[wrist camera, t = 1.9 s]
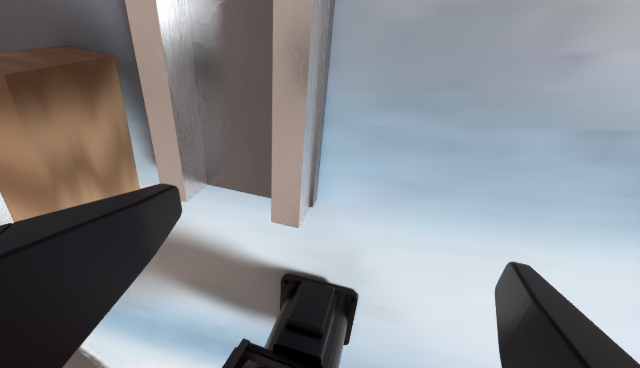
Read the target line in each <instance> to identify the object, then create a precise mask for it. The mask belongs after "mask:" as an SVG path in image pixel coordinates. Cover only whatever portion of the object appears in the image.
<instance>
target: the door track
mask: <svg viewBox="0 0 640 368" xmlns="http://www.w3.org/2000/svg"><path fill="white" fill-rule="evenodd" d="M125 4H126V9H127V15H128V20H129V25H130V30H131V35H132V40H133V46H134V51H135V56H136V61H137V66H138V71H139V77H140V82H141V87H142V92H143V97H144V102H145V108H146V113H147V118H148V123H149V128H150V133H151V139H152V144H153V149H154V154H155V159H156V164H157V170H158V175H159V180H160V184H162V183H166V184H170V185H175V186H176V187H177V188H178V189H179V193H180V199H181V201H184V202H187V201H188V200H189V199H191V198H192V197H193V196H194V195H195V194H196V193H198V192H199V191H200V190H201V189H202V188H203V187H205V186H206V185H207V184H208V185H213V186H217V187H222V188H226V189H231V190H236V191H240V192H245V193H249V194H254V195H258V196H263V197H268V198H271V222H274V223H279V224H283V225H287V226H292V227H296V228H299V226H300V224H301V222H302V221H303V219H304V217H305V215H306V213H307V211H308V209H309V207H313V206H314V204H315V202H316V199H317V188H318V177H319V167H320V156H321V145H322V134H323V123H324V113H325V102H326V91H327V80H328V69H329V59H330V48H331V37H332V26H333V15H334V5H335V0H125Z"/></svg>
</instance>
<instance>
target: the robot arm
mask: <svg viewBox="0 0 640 368" xmlns="http://www.w3.org/2000/svg"><path fill="white" fill-rule="evenodd" d="M181 213H182V206H181V199H180V193H179V189H178V188H177V187H176V186H175V185H170V184H166V183H162V184H158V185H154V186H150V187H146V188H142V189H139V190H135V191H131V192H127V193H123V194H120V195H116V196H112V197H108V198H104V199H100V200H97V201H93V202H89V203H85V204H81V205H78V206H74V207H70V208H66V209H62V210H58V211H55V212H51V213H47V214H43V215H39V216H36V217H32V218H28V219H24V220H20V221H17V222H14V223H13V224H12V223H9V224H5V225H1V226H0V368H62V367H63V366H64V365H65V364H66V362H67V361H68V360H69V359H70V358H71V356H72V355H73V354H74V353H75V352H76V350H77V349H78V348H79V347H80V346H81V344H82V343H83V342H84V341H85V340H86V338H87V337H88V336H89V335H90V334H91V332H92V331H93V330H94V329H95V327H96V326H97V325H98V324H99V323H100V321H101V320H102V319H103V318H104V317H105V315H106V314H107V313H108V312H109V311H110V309H111V308H112V307H113V306H114V304H115V303H116V302H117V301H118V300H119V298H120V297H121V296H122V295H123V294H124V292H125V291H126V290H127V289H128V288H129V286H130V285H131V284H132V283H133V282H134V280H135V279H136V278H137V277H138V275H139V274H140V273H141V272H142V271H143V269H144V268H145V267H146V266H147V265H148V263H149V262H150V261H151V259H152V258H153V257H154V255H155V254H156V253H157V251H158V250H159V248H160V247H161V245H162V244H163V242H164V241H165V239H166V238H167V236H168V235H169V233H170V232H171V230H172V229H173V227H174V226H175V224H176V223H177V221H178V220H179V218H180V216H181ZM352 297H353V298H352ZM357 301H358V294H357V293H356V292H354V291H351V290H347V289H343V288H339V287H335V286H331V285H328V284H324V283H320V282H316V281H312V280H309V279H305V278H301V277H297V276H293V275H289V274H284V275H283V277H282V279H281V297H280V313H279V315H278V318H277V320H276V322H275V324H274V327H273V329H272V331H271V333H270V336H269V338H268V340H267V342H266V345H265V347H261V346H258V345H256V344H253V343H250V341H249V340H246V339H244V338H243V340H242V341H241V343H240V344H239V346H238V347H235V349H234V350H233V351H232V353H231V355H230V356H229V358H228V359H227V361H226V363H225V364H224V366H223V367H222V368H338V367H339V363H340V358H341V353H342V349H343V345H347V344H348V343H349V340H350V335H351V330H352V325H353V320H354V316H355V311H356V306H357ZM495 304H496V317H497V330H498V343H499V353H500V359H501V365H502V368H640V364H639V363H637V362H636V361H635V360H634V359H633V358H632V357H631V356H630V355H628V354H627V353H626V352H625V351H624V350H623V349H622V348H621V347H620V346H618V345H617V344H616V343H615V342H614V341H613V340H612V339H611V338H610V337H608V336H607V335H606V334H605V333H604V332H603V331H602V330H601V329H599V328H598V327H597V326H596V325H595V324H594V323H593V322H592V321H591V320H589V319H588V318H587V317H586V316H585V315H584V314H583V313H582V312H581V311H579V310H578V309H577V308H576V307H575V306H574V305H573V304H572V303H570V302H569V301H568V300H567V299H566V298H565V297H564V296H563V295H562V294H560V293H559V292H558V291H557V290H556V289H555V288H554V287H553V286H552V285H550V284H549V283H548V282H547V281H546V280H545V279H544V278H543V277H541V276H540V275H539V274H538V273H537V272H536V271H535V270H534V269H533V268H531V267H530V266H529V265H526V264H521V263H517V262H509V263H508V264H507V265H506V267H505V269H504V271H503V273H502V275H501V277H500V279H499V281H498V283H497V285H496V288H495Z"/></svg>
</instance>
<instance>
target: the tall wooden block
mask: <svg viewBox="0 0 640 368" xmlns="http://www.w3.org/2000/svg"><path fill="white" fill-rule="evenodd" d="M139 189H140V187H139V181H138V176H137V171H136V165H135V160H134V155H133V149H132V144H131V139H130V133H129V128H128V123H127V118H126V112H125V107H124V102H123V96H122V91H121V86H120V80H119V75H118V70H117V64H116V59H115V56H114V55H109V54H104V53H99V52H94V51H89V50H84V49H79V48H74V47H69V46H58V47H49V48H40V49H32V50H23V51H14V52H6V53H0V192H1V195H2V197H3V199H4V201H5V203H6V206H7V208H8V210H9V212H10V214H11V217H12V219H13V221H14V222H17V221H20V220H24V219H28V218H32V217H36V216H39V215H43V214H47V213H51V212H55V211H58V210H62V209H66V208H70V207H74V206H78V205H81V204H85V203H89V202H93V201H97V200H100V199H104V198H108V197H112V196H116V195H120V194H123V193H127V192H131V191H135V190H139Z"/></svg>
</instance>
